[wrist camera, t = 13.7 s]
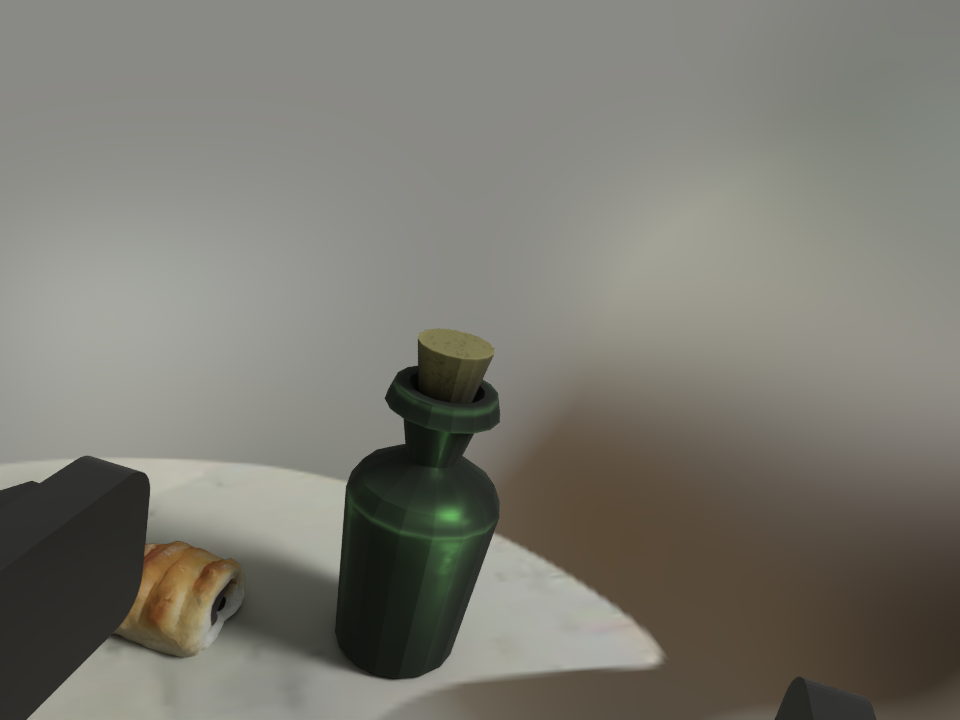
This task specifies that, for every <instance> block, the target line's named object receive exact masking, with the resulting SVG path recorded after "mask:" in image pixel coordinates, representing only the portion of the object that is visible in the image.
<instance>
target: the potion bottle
mask: <svg viewBox="0 0 960 720" xmlns="http://www.w3.org/2000/svg"><path fill="white" fill-rule="evenodd" d="M493 355H494V348H493V347H492V346H491V345H490V343H488V342H486V341H485V340H483V339H481V338H479V337H477V336H474V335H471V334H468V333H465V332H460V331H456V330H449V329H429V330H425V331H423V332H421V333H419V336H418V366H413V367H407V368H405V369H403V370H402V371H400V372H398V373H397V375H396V377H395V379H394V380H393V382H392V384H391V385H390V387H389V389H388V391H387V394H386V397H385V400H386V402H387V403H388V405H389V407H390V409H392V410H393V411H394V412H396V413H397V414H398V415H400V416H401V417H402V418H404V430H405V443H406V444H402V445H397V446H392V447H387V448H383V449H378V450H376V451H374V452H373V453H371V454H370V455H368V456H367V457H365V458H364V459H363V460H362V461H361V462H360V463H359V464H358V465H357V466H356V467H355V468H354V470H353V471H352V472H351V475H350V477H349V480H348V483H347V485H346V495H345V508H344V522H343V535H342V548H341V561H340V575H339V588H338V601H337V614H336V627H335V633H336V636H337V639H338V643H339V646H340V648H341V649H342V650H343V651H344V652H345V653H346V654H347V655H348V657H349V658H350V659H351V660H352V661H353V662H354V663H355V664H356V665H358V666H360V667H361V668H363V669H365V670H367V671H369V672H371V673H373V674H375V675H380V676H385V677H390V678H395V679H400V678H411V677H419V676H421V675H423V674H426V673H428V672H430V671H432V670H434V669H436V668H439V667H440V666H441V665H442V664H443V662H444V661H445V660H446V659H447V657H448V656H449V655H450V653H451V650H452V648H453V645H454V642H455V639H456V636H457V634H458V631H459V628H460V625H461V623H462V620H463V617H464V614H465V611H466V609H467V606H468V603H469V600H470V597H471V595H472V592H473V589H474V586H475V583H476V581H477V578H478V575H479V572H480V569H481V567H482V564H483V561H484V558H485V555H486V553H487V550H488V547H489V544H490V541H491V539H492V536H493V533H494V530H495V527H496V525H497V522H498V519H499V505H500V502H499V499H498V495H497V492H496V489H495V486H494V484H493V483H492V481H491V480H490V478H489V477H488V475H487V474H486V473H485V472H484V471H483V470H482V469H480V468H479V467H478V466H476V465H475V464H473V463H472V462H470V461H469V460H468V459H466V458H465V457H463V456H462V455H463V453H464V451H465V449H466V448H467V446H468V444H469V442H470V440H471V438H472V436H473V435H474V433H478V432H483V431H487V430H491V429H492V428H493V427H494V426H496V425H497V424H498V423H499V422H500V409H499V399H498V393H497V392H496V390H495V389H494V388H493V387H492V385H491V384H489V383H488V382H486V381H484V380H483V377H484V375H485V373H486V371H487V368H488V366H489V364H490V362H491V360H492V357H493Z"/></svg>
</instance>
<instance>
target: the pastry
mask: <svg viewBox="0 0 960 720" xmlns="http://www.w3.org/2000/svg"><path fill="white" fill-rule="evenodd" d="M244 595H245V580H244V573H243V571H242V569H241V566H240V565H239V564H238V563H237V562H236V561H235V560H233V559H232V558H231V559H227V560H224V559H222V558H220V557H218V556H216V555H214V554H212V553H210V552H208V551H206V550H203V549H201V548H195V547H192V546H190V545H189V544H187V543H184V542H180V541H176V542H173V543H170V544H153V543H152V544H145V552H144V563H143V574H142V581H141V585H140V589H139V592H138V595H137V598H136V600H135V602H134V604H133V607H132V608H131V610H130V612H129V614H128V615H127V617H126V618H125V620H124V621H123V623H122V624H121V625H120V626H119V627H118V628H117V629H116V630H115V631H114V632H113V633H112V634H118V635H120V636H122V637H124V638H126V639H128V640H131V641H134V642H136V643H139V644H141V645H143V646H145V647H147V648H150V649H153V650H156V651H160V652H163V653H166V654H170V655H174V656H178V657H192V656H196V655H198V653H199V651H201V650H205V649H207V648H208V647H209V646H210V645H211V644H212V643H213V642H214V641H215V639H216V638H217V635H218V633H219V632H220V630H221V628H222V626H223V624H224V621H225V620H226V619H227V618H229V617H230V616H232V615H233V614H234V613H235V612H236V611H237V610H238V608H239V607H240V605H241V604H242V602H243V600H244Z"/></svg>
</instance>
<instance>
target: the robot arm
mask: <svg viewBox="0 0 960 720" xmlns="http://www.w3.org/2000/svg"><path fill="white" fill-rule="evenodd" d="M149 497H150V483H149V479H148V477H147V475H146V474H145V473H143V472H140V471H137V470H134V469H131V468H127V467H124V466H121V465H118V464H114V463H111V462H108V461H105V460H101V459H98V458H95V457H92V456H83V457H80V458H79V459H77V460H75V461H74V462H72V463H70V464H69V465H67V466H66V467H64V468H63V469H61V470H60V471H58V472H57V473H55V474H54V475H52V476H50V477H49V478H47V479H46V480H44V481H43V482H41V483H37V482H34V481H29V482H26V483H23V484H20V485H17V486H13V487H10V488H7V489H4V490H0V720H26V719H27V718H28V717H29V716H30V715H31V714H32V713H33V712H34V711H35V710H36V709H37V708H38V707H39V706H40V705H41V704H42V703H43V702H44V701H45V700H46V699H47V698H48V697H49V696H50V695H51V694H52V693H53V692H54V691H55V690H56V689H57V688H58V687H59V686H60V685H61V684H62V683H63V682H64V681H65V680H66V679H67V678H68V677H69V676H70V675H71V674H72V673H73V672H74V671H75V670H76V669H77V668H78V667H79V666H80V665H81V664H82V663H83V662H84V661H85V660H86V659H87V658H88V657H89V656H90V655H91V654H92V653H93V652H94V651H95V650H96V649H97V648H98V647H99V646H100V645H101V644H102V643H103V642H104V641H105V640H106V639H107V638H108V637H109V636H110V635H111V634H112V633H113V632H114V631H115V630H116V629H117V628H118V627H119V626H120V625H121V624H122V623H123V621H124V620H125V618H126V617H127V615H128V614H129V612H130V610H131V608H132V607H133V604H134V602H135V600H136V598H137V595H138V592H139V589H140V585H141V581H142V574H143V563H144V552H145V541H146V530H147V519H148V508H149ZM775 720H876V717H875V714H874V711H873V708H872V705H871V703H870V701H869V700H868V699H867V698H866V697H864V696H861V695H857V694H854V693H851V692H848V691H845V690H841V689H838V688H834V687H832V686H828V685H825V684H822V683H819V682H815V681H812V680H809V679H806V678H802V677H796V678H795V679H794V680H793V681H792V682H791V684H790V686H789V687H788V689H787V691H786V694H785V696H784V698H783V701H782V703H781V706H780V708H779V710H778V713H777V715H776V718H775Z"/></svg>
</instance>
